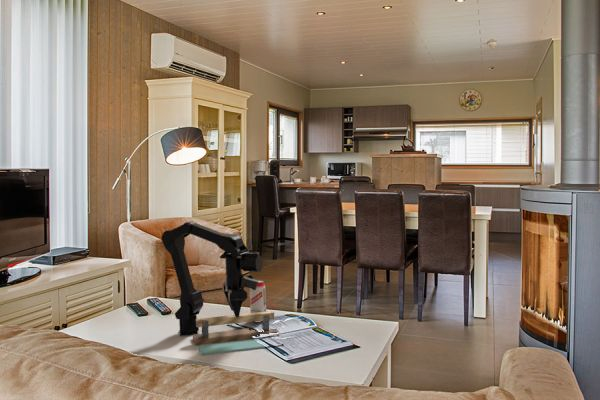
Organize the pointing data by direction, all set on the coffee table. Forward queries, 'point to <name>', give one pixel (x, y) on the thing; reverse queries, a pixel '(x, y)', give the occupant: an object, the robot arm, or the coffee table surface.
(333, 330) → the coffee table surface
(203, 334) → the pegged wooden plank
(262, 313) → the oak rail
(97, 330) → the coffee table surface
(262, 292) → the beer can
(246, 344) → the teal mat
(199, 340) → the walnut board
